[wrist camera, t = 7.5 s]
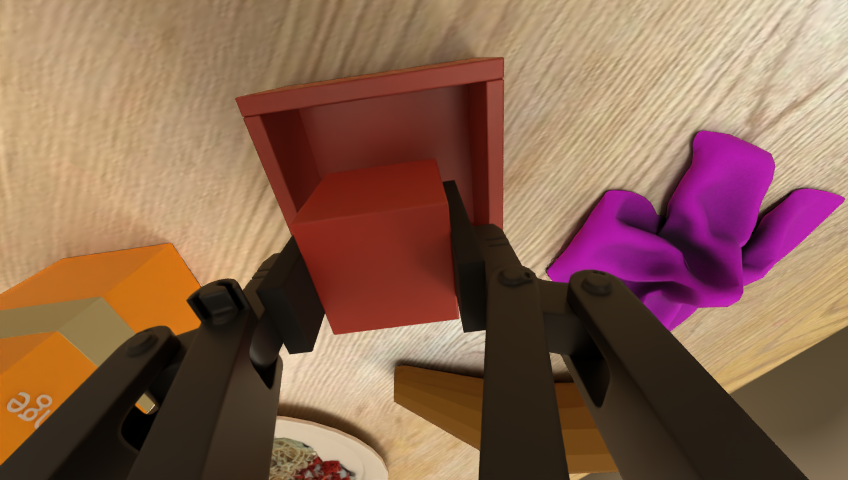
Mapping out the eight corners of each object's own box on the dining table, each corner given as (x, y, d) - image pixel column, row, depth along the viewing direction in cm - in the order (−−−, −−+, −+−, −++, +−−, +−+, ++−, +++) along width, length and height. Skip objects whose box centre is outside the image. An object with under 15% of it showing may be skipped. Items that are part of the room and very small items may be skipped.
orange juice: (59, 257, 23) (-973, 842, 6) (171, 241, 23) (-574, 811, 5) (126, 328, 27) (-367, 798, 10) (221, 316, 27) (-117, 779, 10)
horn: (396, 351, 34) (612, 348, 35) (395, 439, 34) (608, 433, 36) (392, 389, 26) (671, 384, 27) (391, 503, 26) (665, 493, 28)
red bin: (281, 87, 18) (233, 97, 13) (478, 57, 17) (504, 56, 13) (336, 250, 24) (317, 299, 19) (483, 231, 23) (502, 276, 19)
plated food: (97, 411, 33) (67, 445, 30) (370, 390, 33) (367, 422, 30) (214, 515, 49) (201, 544, 46) (400, 501, 49) (399, 529, 46)
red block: (326, 173, 14) (288, 224, 9) (435, 157, 14) (448, 202, 9) (353, 263, 16) (333, 335, 12) (445, 250, 16) (459, 319, 12)
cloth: (595, 361, 32) (632, 421, 27) (507, 250, 24) (534, 303, 19) (844, 247, 26) (957, 296, 20) (832, 44, 18) (1011, 39, 12)
